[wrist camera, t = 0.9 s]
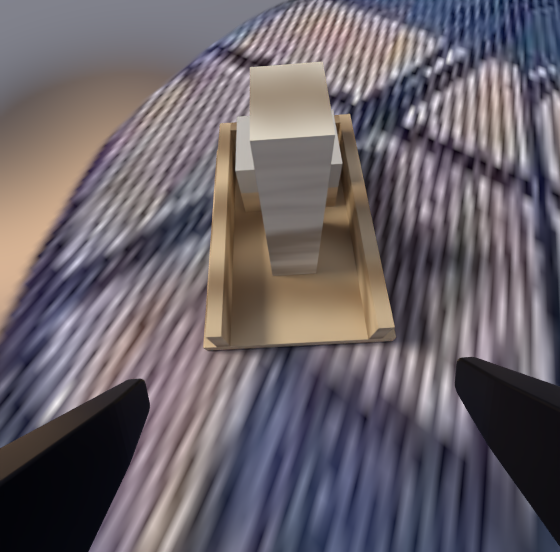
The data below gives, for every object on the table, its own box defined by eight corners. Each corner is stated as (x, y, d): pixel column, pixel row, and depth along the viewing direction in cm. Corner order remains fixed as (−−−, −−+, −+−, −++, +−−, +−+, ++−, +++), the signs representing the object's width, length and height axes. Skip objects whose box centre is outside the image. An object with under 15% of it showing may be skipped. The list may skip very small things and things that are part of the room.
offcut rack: (392, 340, 22) (410, 326, 19) (206, 350, 23) (190, 337, 19) (353, 148, 31) (360, 113, 27) (219, 158, 31) (209, 124, 28)
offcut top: (338, 187, 24) (342, 163, 22) (241, 193, 24) (235, 170, 22) (329, 135, 27) (332, 110, 25) (242, 141, 27) (237, 116, 25)
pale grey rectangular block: (315, 273, 24) (335, 134, 12) (272, 275, 24) (249, 140, 12) (310, 221, 26) (322, 61, 14) (270, 224, 26) (249, 67, 14)
